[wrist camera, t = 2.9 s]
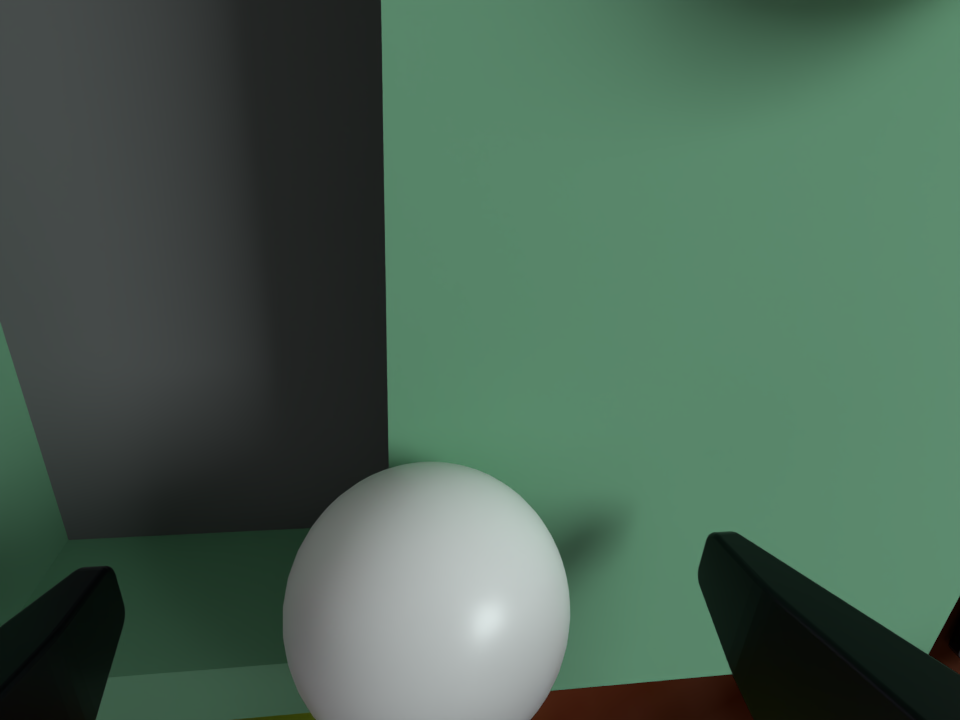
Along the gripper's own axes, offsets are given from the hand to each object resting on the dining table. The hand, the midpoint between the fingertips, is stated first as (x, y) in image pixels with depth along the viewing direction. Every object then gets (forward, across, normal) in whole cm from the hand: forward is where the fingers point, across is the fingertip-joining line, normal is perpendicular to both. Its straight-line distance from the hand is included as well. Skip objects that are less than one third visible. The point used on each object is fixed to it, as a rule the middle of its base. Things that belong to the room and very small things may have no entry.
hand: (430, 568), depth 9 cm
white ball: (-1, 0, 0) cm, 1 cm away
